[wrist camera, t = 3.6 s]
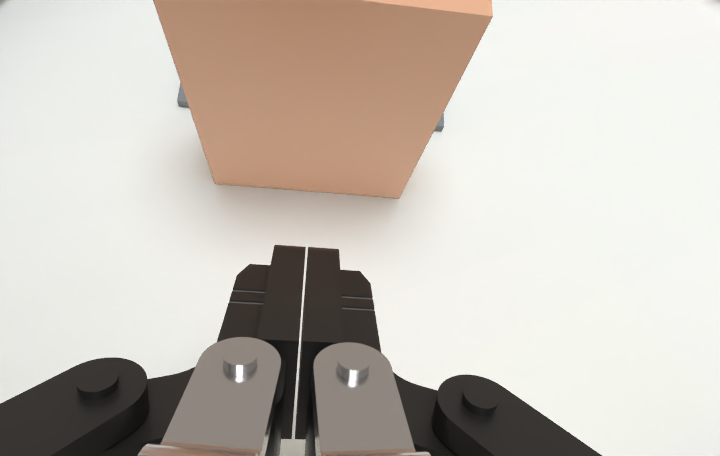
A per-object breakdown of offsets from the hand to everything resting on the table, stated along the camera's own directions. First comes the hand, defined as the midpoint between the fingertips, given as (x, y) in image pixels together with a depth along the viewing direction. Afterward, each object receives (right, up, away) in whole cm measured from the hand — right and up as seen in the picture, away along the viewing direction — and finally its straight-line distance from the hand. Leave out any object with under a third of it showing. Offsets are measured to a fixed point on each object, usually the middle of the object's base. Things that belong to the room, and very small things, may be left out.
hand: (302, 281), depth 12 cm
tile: (-1, +5, +16) cm, 17 cm away
